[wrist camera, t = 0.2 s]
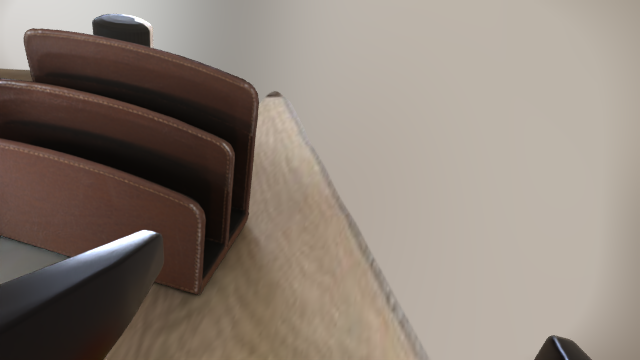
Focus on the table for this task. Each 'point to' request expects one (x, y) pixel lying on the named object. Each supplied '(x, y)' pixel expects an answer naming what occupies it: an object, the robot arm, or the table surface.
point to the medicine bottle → (124, 29)
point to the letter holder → (126, 152)
